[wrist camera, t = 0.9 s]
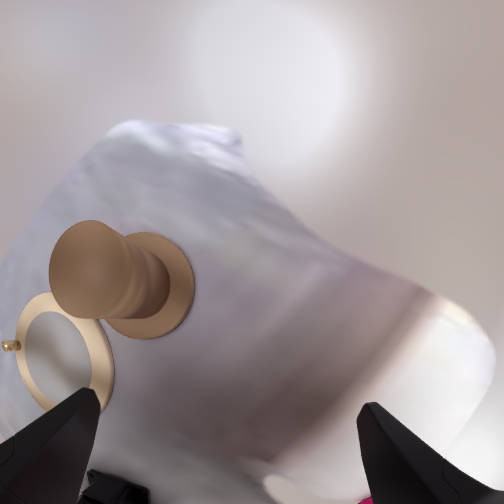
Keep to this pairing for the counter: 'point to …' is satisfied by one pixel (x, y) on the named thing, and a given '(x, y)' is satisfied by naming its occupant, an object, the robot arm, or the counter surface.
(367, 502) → the pepper mill
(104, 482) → the robot arm
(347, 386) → the counter surface
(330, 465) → the counter surface
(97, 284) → the brown flanged knob
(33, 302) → the plate
